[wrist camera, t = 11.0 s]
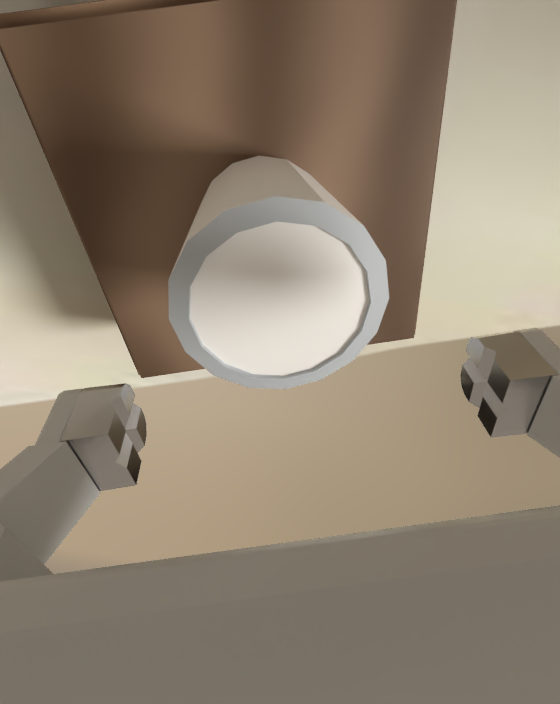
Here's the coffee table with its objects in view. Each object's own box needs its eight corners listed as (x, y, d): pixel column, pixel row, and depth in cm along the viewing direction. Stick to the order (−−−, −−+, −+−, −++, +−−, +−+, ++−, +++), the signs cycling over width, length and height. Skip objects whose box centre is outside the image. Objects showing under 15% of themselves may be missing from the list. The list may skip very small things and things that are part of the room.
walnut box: (409, -32, 18) (473, -50, 13) (387, 289, 28) (419, 342, 23) (40, 17, 18) (-26, 15, 13) (151, 323, 28) (136, 384, 23)
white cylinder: (169, 271, 19) (148, 371, 14) (205, 110, 15) (195, 159, 10) (306, 307, 21) (335, 406, 16) (368, 172, 17) (434, 241, 12)
